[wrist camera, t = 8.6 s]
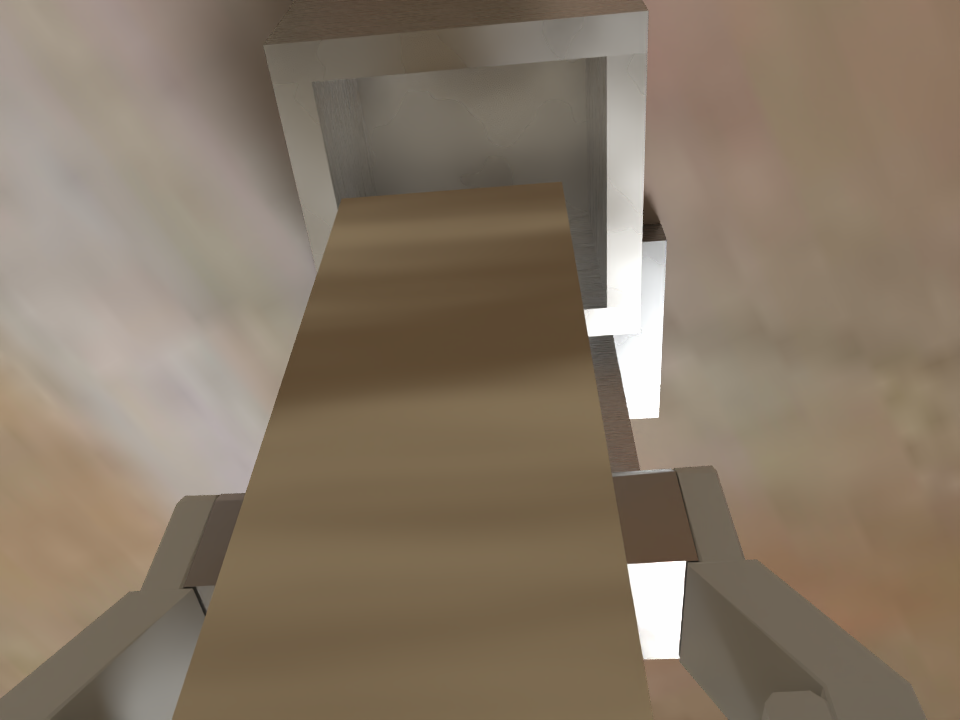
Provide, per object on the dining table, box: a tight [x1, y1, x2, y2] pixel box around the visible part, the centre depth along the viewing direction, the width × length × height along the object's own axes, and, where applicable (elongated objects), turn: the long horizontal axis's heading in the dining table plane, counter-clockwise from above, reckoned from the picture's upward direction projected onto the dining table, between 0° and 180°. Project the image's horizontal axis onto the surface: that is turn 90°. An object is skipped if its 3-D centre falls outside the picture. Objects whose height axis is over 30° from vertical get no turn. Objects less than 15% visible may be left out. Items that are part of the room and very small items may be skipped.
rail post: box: [172, 182, 654, 720], centre depth 12 cm, size 4×4×12 cm
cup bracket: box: [263, 0, 667, 473], centre depth 25 cm, size 18×12×12 cm, turn 5°
